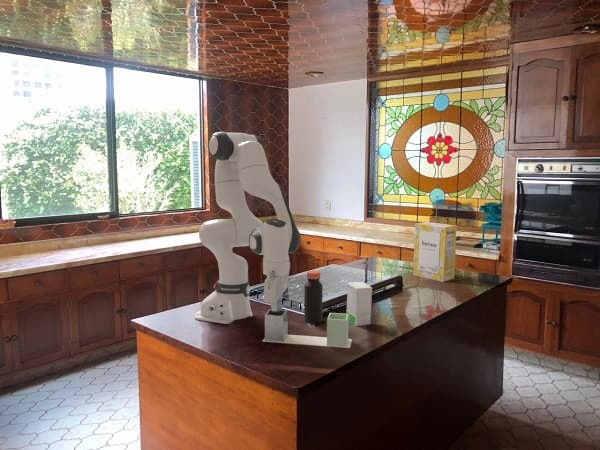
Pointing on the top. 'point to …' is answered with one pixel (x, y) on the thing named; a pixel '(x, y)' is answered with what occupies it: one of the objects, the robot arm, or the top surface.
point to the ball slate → (278, 306)
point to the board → (309, 340)
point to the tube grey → (276, 325)
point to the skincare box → (359, 303)
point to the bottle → (313, 298)
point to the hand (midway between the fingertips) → (276, 308)
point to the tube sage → (337, 329)
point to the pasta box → (435, 251)
